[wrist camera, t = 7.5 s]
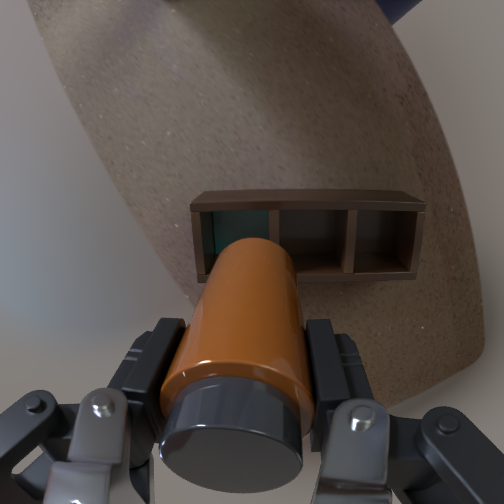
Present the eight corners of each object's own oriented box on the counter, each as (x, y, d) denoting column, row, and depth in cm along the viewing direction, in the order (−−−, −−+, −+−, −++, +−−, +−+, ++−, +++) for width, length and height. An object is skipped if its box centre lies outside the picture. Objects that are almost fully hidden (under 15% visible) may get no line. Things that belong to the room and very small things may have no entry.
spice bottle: (209, 238, 14) (116, 400, 5) (296, 236, 14) (335, 413, 5) (216, 312, 16) (164, 490, 6) (295, 312, 15) (311, 499, 6)
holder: (204, 191, 30) (189, 202, 24) (401, 191, 28) (426, 202, 23) (209, 259, 32) (197, 283, 27) (395, 257, 31) (416, 279, 25)
